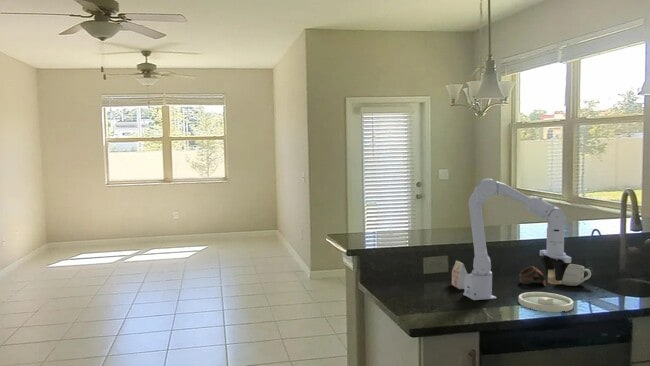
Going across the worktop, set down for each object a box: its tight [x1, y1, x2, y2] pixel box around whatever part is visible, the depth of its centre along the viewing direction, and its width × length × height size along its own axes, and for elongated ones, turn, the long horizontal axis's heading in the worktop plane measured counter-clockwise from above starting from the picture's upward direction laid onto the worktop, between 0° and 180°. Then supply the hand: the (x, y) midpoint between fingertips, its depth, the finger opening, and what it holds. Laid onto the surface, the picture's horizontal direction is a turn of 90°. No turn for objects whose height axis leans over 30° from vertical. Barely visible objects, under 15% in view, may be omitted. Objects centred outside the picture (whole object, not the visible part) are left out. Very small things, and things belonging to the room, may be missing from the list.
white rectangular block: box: [451, 260, 469, 290], centre depth 209 cm, size 4×7×10 cm, turn 11°
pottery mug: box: [518, 266, 547, 287], centre depth 214 cm, size 12×10×8 cm
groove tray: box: [518, 291, 575, 313], centre depth 185 cm, size 18×18×2 cm
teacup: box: [560, 263, 592, 287], centre depth 212 cm, size 14×11×8 cm
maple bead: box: [547, 268, 562, 285], centre depth 187 cm, size 4×4×4 cm
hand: (554, 278), depth 187 cm, fingers closed on maple bead, 4 cm apart
